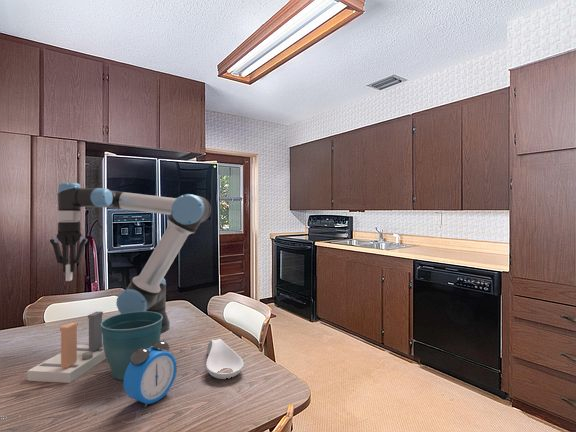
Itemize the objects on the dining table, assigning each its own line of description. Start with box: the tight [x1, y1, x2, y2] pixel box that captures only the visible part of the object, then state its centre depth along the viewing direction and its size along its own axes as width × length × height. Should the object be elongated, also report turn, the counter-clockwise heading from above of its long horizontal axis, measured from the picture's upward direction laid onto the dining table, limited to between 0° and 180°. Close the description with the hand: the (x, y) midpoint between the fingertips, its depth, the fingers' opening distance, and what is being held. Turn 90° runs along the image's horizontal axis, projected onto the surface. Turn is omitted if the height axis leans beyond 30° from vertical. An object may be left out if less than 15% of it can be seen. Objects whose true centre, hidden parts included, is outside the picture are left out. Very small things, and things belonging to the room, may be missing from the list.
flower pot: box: [101, 311, 163, 381], centre depth 104 cm, size 18×18×17 cm
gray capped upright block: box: [87, 311, 104, 351], centre depth 113 cm, size 2×4×12 cm, turn 175°
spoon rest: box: [205, 338, 245, 380], centre depth 108 cm, size 24×12×7 cm, turn 27°
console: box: [26, 344, 107, 384], centre depth 108 cm, size 14×20×4 cm
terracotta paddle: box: [59, 322, 79, 368], centre depth 101 cm, size 2×4×12 cm, turn 175°
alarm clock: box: [122, 339, 177, 408], centre depth 89 cm, size 13×6×15 cm, turn 152°
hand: (69, 280), depth 129 cm, fingers closed
